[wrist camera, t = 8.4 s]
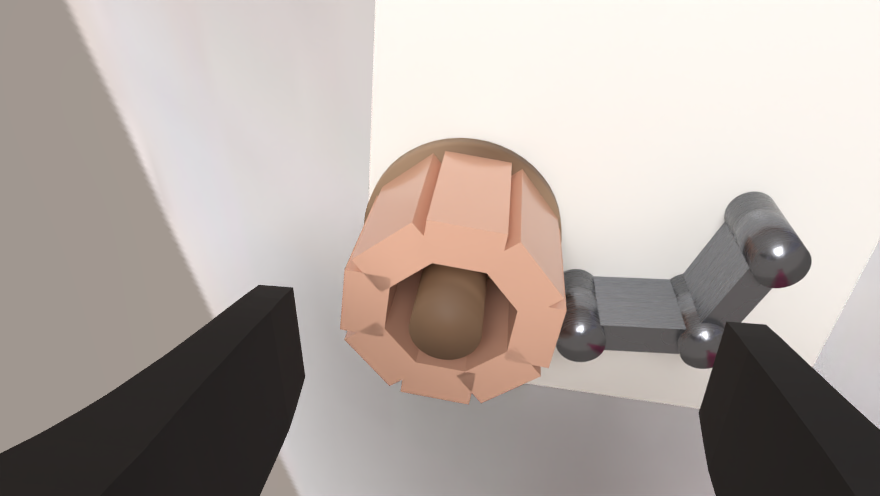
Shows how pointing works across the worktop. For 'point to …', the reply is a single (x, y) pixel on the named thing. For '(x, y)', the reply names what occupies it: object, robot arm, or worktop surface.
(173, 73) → the worktop surface
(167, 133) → the worktop surface
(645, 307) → the grey mechanical part
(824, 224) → the board
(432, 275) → the peg
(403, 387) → the ring
